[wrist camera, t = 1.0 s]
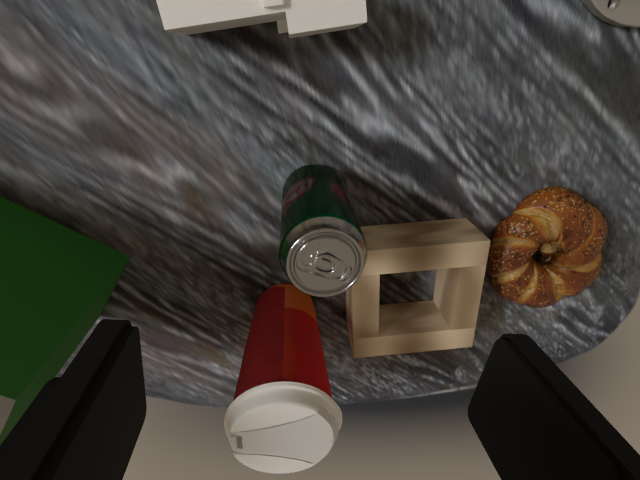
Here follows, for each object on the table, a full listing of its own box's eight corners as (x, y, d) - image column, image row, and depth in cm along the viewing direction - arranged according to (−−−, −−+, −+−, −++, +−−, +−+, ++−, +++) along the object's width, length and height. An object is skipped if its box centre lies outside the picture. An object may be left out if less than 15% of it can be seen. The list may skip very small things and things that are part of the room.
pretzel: (485, 189, 32) (508, 204, 29) (606, 176, 32) (643, 189, 29) (472, 301, 37) (490, 324, 34) (576, 289, 38) (604, 311, 34)
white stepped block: (139, 38, 25) (101, 33, 20) (204, -154, 21) (177, -221, 16) (325, 146, 29) (333, 165, 24) (409, 3, 25) (438, -11, 20)
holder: (466, 217, 33) (490, 240, 29) (452, 315, 38) (472, 346, 34) (343, 227, 32) (351, 252, 28) (346, 325, 37) (353, 358, 33)
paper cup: (246, 338, 37) (225, 481, 25) (243, 273, 34) (215, 401, 21) (323, 336, 38) (340, 475, 25) (327, 273, 34) (349, 397, 22)
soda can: (299, 151, 29) (305, 206, 18) (354, 179, 30) (388, 246, 20) (272, 204, 31) (263, 283, 20) (324, 229, 32) (341, 315, 22)
